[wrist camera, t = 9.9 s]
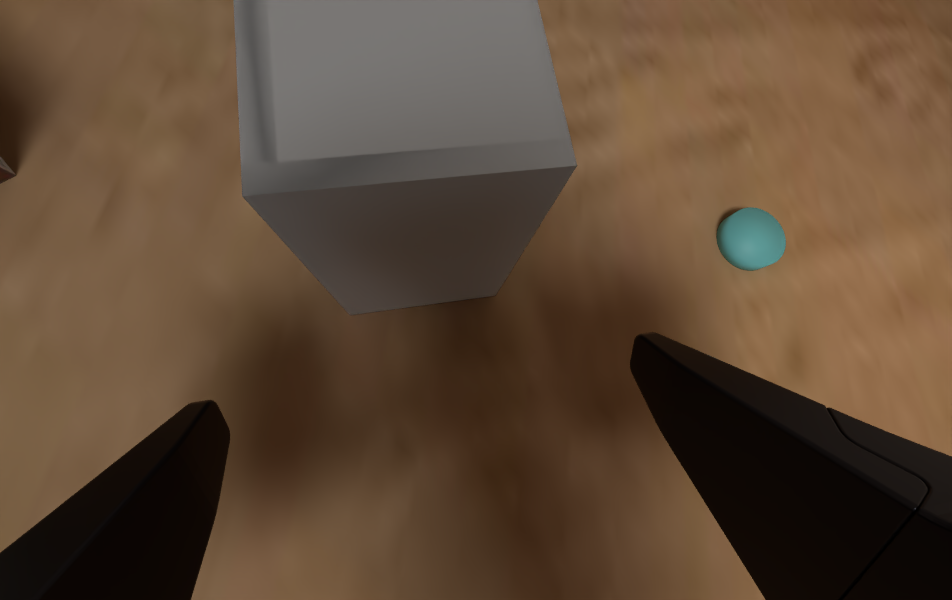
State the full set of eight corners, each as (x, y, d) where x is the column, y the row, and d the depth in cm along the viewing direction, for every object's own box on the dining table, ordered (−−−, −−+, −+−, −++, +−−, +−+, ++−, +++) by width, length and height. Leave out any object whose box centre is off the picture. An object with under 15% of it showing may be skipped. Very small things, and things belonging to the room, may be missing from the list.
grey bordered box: (495, 295, 18) (576, 165, 8) (349, 315, 17) (242, 196, 7) (472, 168, 19) (518, -76, 9) (336, 180, 18) (230, -75, 8)
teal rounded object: (777, 265, 20) (795, 258, 19) (725, 277, 19) (741, 271, 18) (755, 212, 20) (771, 202, 19) (704, 222, 20) (718, 213, 19)
